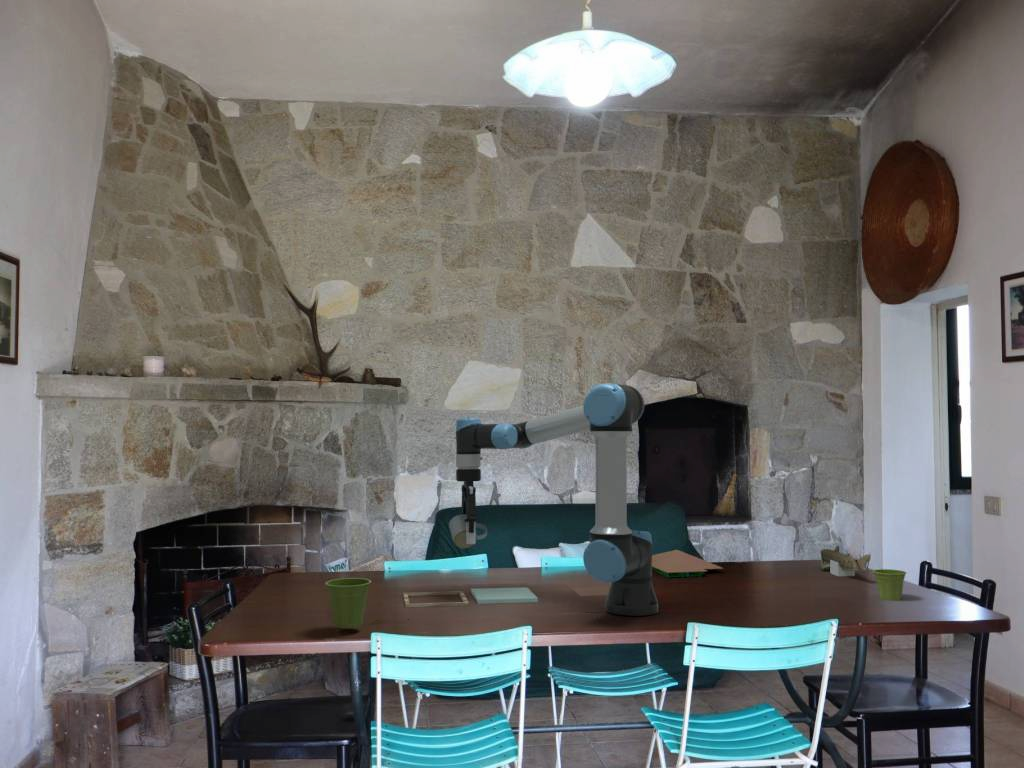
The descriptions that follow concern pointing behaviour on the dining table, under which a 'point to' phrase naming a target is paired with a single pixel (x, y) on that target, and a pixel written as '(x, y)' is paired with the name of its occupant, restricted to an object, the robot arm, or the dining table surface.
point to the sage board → (503, 595)
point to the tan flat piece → (680, 563)
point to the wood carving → (843, 562)
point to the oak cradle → (407, 604)
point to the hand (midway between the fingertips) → (468, 541)
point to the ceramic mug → (463, 531)
